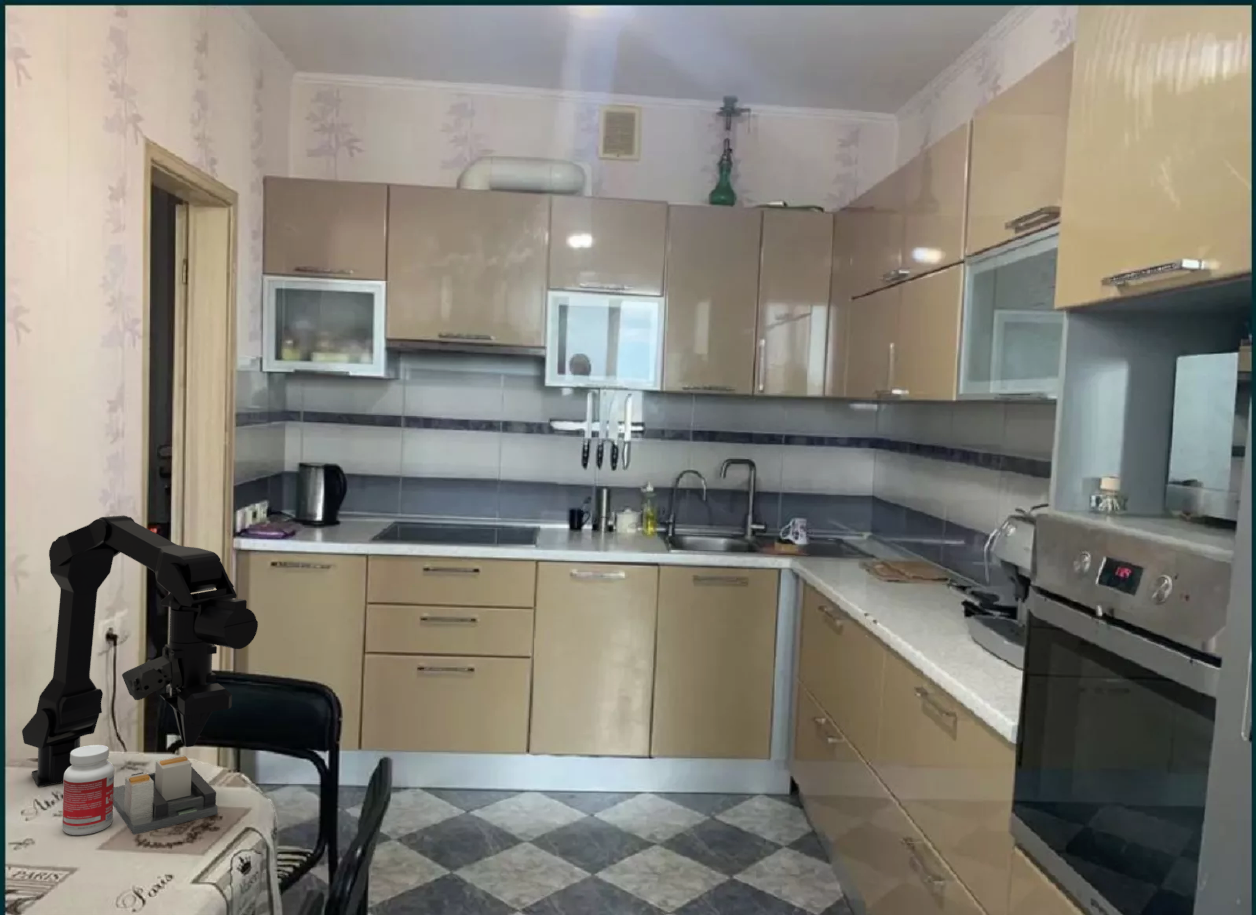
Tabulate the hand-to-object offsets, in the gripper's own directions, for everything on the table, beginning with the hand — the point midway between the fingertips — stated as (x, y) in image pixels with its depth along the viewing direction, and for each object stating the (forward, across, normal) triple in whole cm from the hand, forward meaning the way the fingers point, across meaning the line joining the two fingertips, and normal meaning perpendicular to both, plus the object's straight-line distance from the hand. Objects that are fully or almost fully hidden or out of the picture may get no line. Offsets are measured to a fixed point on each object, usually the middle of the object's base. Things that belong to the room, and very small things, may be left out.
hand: (187, 744), depth 129 cm
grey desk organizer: (+11, -7, -2) cm, 13 cm away
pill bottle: (+11, -5, -12) cm, 17 cm away
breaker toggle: (+10, -7, 0) cm, 12 cm away
